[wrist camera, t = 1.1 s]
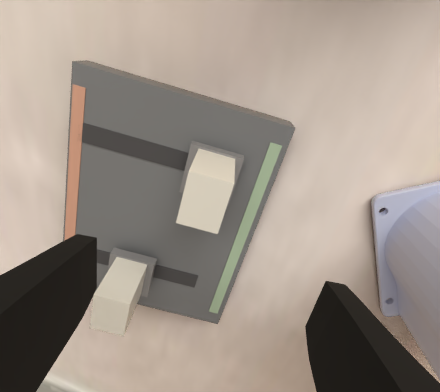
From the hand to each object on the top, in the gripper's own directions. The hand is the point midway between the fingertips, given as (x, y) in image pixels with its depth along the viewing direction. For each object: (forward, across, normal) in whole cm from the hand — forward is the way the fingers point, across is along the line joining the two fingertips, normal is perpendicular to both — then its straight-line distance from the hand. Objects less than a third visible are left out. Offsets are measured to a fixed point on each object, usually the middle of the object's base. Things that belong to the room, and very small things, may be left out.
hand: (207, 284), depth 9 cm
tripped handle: (+7, +4, +6) cm, 10 cm away
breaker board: (+9, +3, +3) cm, 10 cm away
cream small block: (+7, +1, -1) cm, 7 cm away
